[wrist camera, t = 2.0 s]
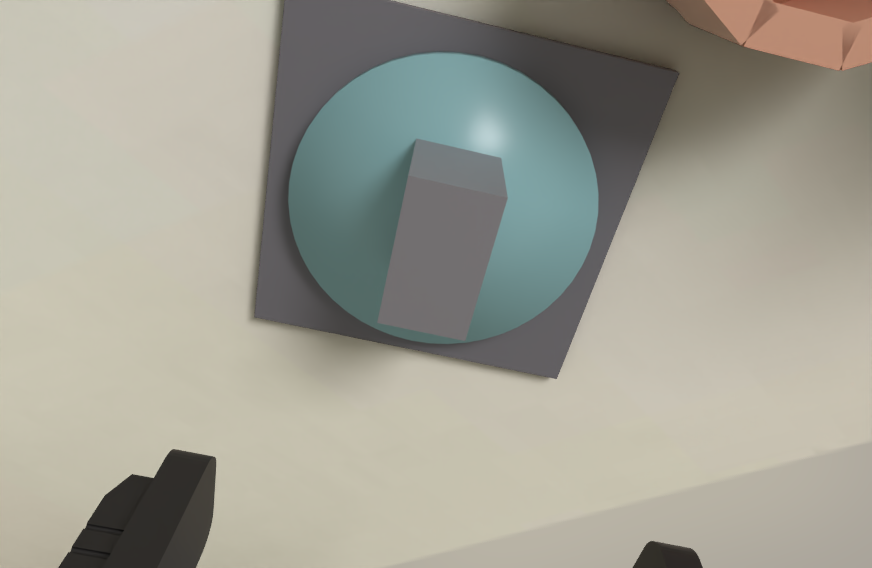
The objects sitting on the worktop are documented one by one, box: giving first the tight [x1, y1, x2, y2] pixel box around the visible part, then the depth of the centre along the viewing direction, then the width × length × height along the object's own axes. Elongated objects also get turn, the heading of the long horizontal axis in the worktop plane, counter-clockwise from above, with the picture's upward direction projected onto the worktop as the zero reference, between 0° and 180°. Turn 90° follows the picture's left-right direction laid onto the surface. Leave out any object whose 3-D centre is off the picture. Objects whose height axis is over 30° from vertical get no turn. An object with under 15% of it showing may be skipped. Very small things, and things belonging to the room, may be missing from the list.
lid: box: [288, 51, 599, 344], centre depth 23 cm, size 12×12×5 cm
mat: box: [255, 0, 679, 379], centre depth 25 cm, size 14×14×1 cm
